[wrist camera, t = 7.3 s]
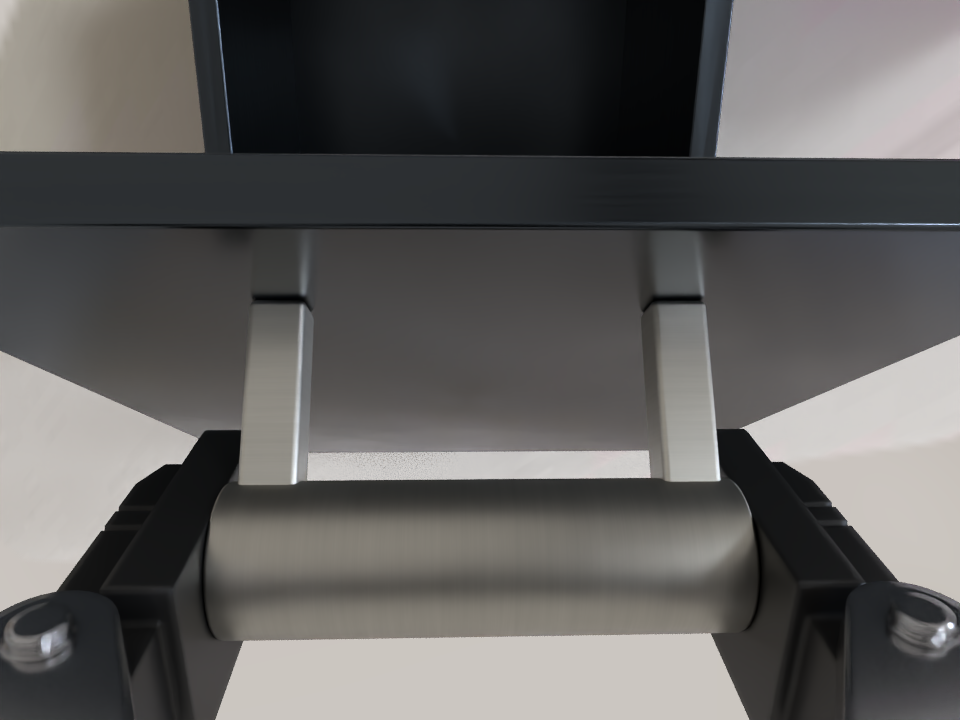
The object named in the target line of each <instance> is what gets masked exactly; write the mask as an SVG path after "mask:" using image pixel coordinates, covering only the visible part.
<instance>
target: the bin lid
mask: <svg viewBox="0 0 960 720" xmlns="http://www.w3.org/2000/svg"><path fill="white" fill-rule="evenodd" d="M959 335H960V159H869V158H746V157H623V156H500V155H377V154H254V153H130V152H7V151H0V351H2V352H5V353H7V354H9V355H11V356H14V357H16V358H18V359H20V360H23V361H25V362H27V363H29V364H32V365H34V366H36V367H38V368H41V369H43V370H45V371H47V372H50V373H52V374H54V375H57V376H59V377H61V378H63V379H66V380H68V381H70V382H72V383H75V384H77V385H79V386H81V387H84V388H86V389H88V390H90V391H93V392H95V393H97V394H100V395H102V396H104V397H106V398H109V399H111V400H113V401H115V402H118V403H120V404H122V405H124V406H127V407H129V408H131V409H133V410H136V411H138V412H140V413H142V414H145V415H147V416H149V417H152V418H154V419H156V420H158V421H161V422H163V423H165V424H167V425H170V426H172V427H174V428H176V429H179V430H181V431H183V432H185V433H188V434H190V435H192V436H194V437H197V438H200V436H201V435H202V433H203V432H204V431H206V430H241V443H240V458H239V474H238V481H233V482H231V483H228V484H226V485H225V486H224V487H223V488H222V490H221V491H220V493H219V495H218V497H217V499H216V502H215V504H214V507H213V510H212V514H211V517H210V521H209V525H208V530H207V535H206V542H205V549H204V560H203V597H204V606H205V613H206V618H207V622H208V625H209V628H210V630H211V632H212V634H213V636H214V637H215V638H217V639H219V640H221V641H248V640H309V639H311V640H312V639H375V638H439V637H499V636H500V637H502V636H565V635H623V634H624V635H630V634H689V633H690V634H691V633H738V632H741V631H743V630H745V629H746V628H748V626H749V625H750V624H751V622H752V620H753V617H754V615H755V612H756V608H757V603H758V597H759V588H760V560H759V549H758V541H757V536H756V530H755V526H754V522H753V518H752V515H751V511H750V509H749V506H748V503H747V501H746V499H745V497H744V495H743V493H742V491H741V490H740V488H739V487H738V486H737V485H736V484H735V483H734V482H733V481H732V480H730V479H727V478H720V467H719V455H718V443H717V432H716V429H739V428H742V427H744V426H746V425H749V424H751V423H754V422H756V421H758V420H761V419H763V418H765V417H768V416H770V415H772V414H775V413H777V412H780V411H782V410H784V409H787V408H789V407H791V406H794V405H796V404H798V403H801V402H803V401H806V400H808V399H810V398H813V397H815V396H817V395H820V394H822V393H824V392H827V391H829V390H832V389H834V388H836V387H839V386H841V385H843V384H846V383H848V382H850V381H853V380H855V379H858V378H860V377H862V376H865V375H867V374H869V373H872V372H874V371H877V370H879V369H881V368H884V367H886V366H888V365H891V364H893V363H895V362H898V361H900V360H903V359H905V358H907V357H910V356H912V355H914V354H917V353H919V352H921V351H924V350H926V349H929V348H931V347H933V346H936V345H938V344H940V343H943V342H945V341H947V340H950V339H952V338H955V337H957V336H959ZM631 450H649V458H650V473H651V478H600V479H474V480H349V481H307V467H308V453H327V452H479V451H631Z"/></svg>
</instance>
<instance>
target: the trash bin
mask: <svg viewBox="0 0 960 720" xmlns="http://www.w3.org/2000/svg"><path fill="white" fill-rule="evenodd" d="M733 1H734V0H188V3H189V12H190V21H191V30H192V39H193V48H194V57H195V66H196V75H197V85H198V94H199V103H200V112H201V121H202V130H203V139H204V148H205V153H254V154H377V155H500V156H623V157H716V150H717V141H718V132H719V124H720V115H721V106H722V98H723V89H724V80H725V71H726V63H727V54H728V45H729V36H730V28H731V19H732V10H733Z"/></svg>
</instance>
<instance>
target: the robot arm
mask: <svg viewBox="0 0 960 720" xmlns="http://www.w3.org/2000/svg"><path fill="white" fill-rule="evenodd" d="M716 432H717V443H718V455H719V467H720V478H727V479H730V480H732V481H733V482H734V483H735V484H736V485H737V486H738V487H739V488H740V490H741V491H742V493H743V495H744V497H745V499H746V501H747V503H748V506H749V509H750V511H751V515H752V518H753V522H754V526H755V530H756V536H757V541H758V549H759V560H760V588H759V597H758V603H757V608H756V612H755V615H754V617H753V620H752V622H751V624H750V625H749V626H748V628H746V629H745V630H743V631H741V632H738V633H711V635H712V637H713V639H714V641H715V644H716V646H717V648H718V650H719V652H720V655H721V657H722V659H723V662H724V664H725V666H726V668H727V670H728V673H729V675H730V677H731V679H732V681H733V683H734V686H735V688H736V691H737V693H738V695H739V697H740V699H741V702H742V704H743V706H744V708H745V711H746V713H747V715H748V717H749V720H960V603H959V602H957V601H955V600H953V599H951V598H949V597H947V596H945V595H943V594H941V593H938V592H935V591H933V590H930V589H927V588H924V587H921V586H917V585H913V584H907V583H902V582H899V581H898V580H897V579H896V578H895V577H894V575H893V574H892V573H891V572H890V571H889V569H887V567H886V566H885V565H884V564H883V562H882V561H881V560H880V559H879V558H878V557H877V555H876V554H875V553H874V552H873V551H872V550H871V549H870V547H869V546H868V545H867V544H866V543H865V541H864V540H863V539H862V538H861V537H860V535H859V534H858V533H857V532H856V531H855V530H854V528H853V527H852V526H848V525H847V520H846V519H845V518H844V517H843V515H842V514H841V513H840V512H839V511H838V510H837V509H836V507H832V503H831V501H830V500H829V499H828V498H827V497H826V495H825V494H823V492H822V491H821V490H820V488H819V487H818V486H817V485H816V484H815V483H814V482H813V480H811V479H809V478H808V477H806V476H804V475H803V474H801V473H799V472H798V471H796V470H795V469H793V468H791V467H790V466H788V465H787V464H785V463H783V462H771V461H770V460H769V458H768V457H767V456H766V455H765V453H764V452H763V451H762V450H761V448H760V447H759V446H758V445H757V443H756V442H755V441H754V439H753V438H752V437H751V436H750V434H749V433H748V432H747V431H746V430H744V429H716ZM240 443H241V430H206V431H204V432H203V433H202V435H201V436H200V438H199V439H198V441H197V442H196V444H195V445H194V447H193V448H192V450H191V451H190V453H189V455H188V456H187V458H186V459H185V461H184V462H183V464H165V465H164V466H162V467H161V468H159V469H158V470H156V471H155V472H153V473H152V474H150V475H149V476H147V477H146V478H144V479H143V480H141V481H140V482H138V483H137V484H136V485H135V486H134V487H133V489H132V490H131V491H130V493H129V494H128V495H127V497H126V498H125V499H124V501H123V502H122V503H121V505H120V506H119V511H116V512H115V513H114V514H113V516H112V517H111V518H110V520H109V521H108V522H107V524H106V525H105V531H101V532H100V533H99V535H98V536H97V537H96V539H95V540H94V541H93V543H92V544H91V545H90V547H89V548H88V550H87V551H86V552H85V554H84V555H83V556H82V558H81V559H80V560H79V562H78V563H77V564H76V566H75V567H74V569H73V570H72V571H71V573H70V574H69V575H68V577H67V578H66V579H65V581H64V582H63V584H62V585H61V586H60V587H59V589H58V590H57V592H53V593H49V594H44V595H40V596H37V597H34V598H30V599H27V600H25V601H22V602H20V603H17V604H15V605H13V606H11V607H9V608H7V609H5V610H3V611H1V612H0V720H215V719H216V716H217V713H218V710H219V707H220V704H221V701H222V699H223V696H224V693H225V690H226V687H227V685H228V682H229V679H230V676H231V674H232V671H233V667H234V665H235V662H236V659H237V657H238V654H239V651H240V648H241V646H242V643H243V641H221V640H219V639H217V638H215V637H214V636H213V634H212V632H211V630H210V628H209V625H208V622H207V618H206V613H205V606H204V597H203V560H204V549H205V542H206V535H207V530H208V525H209V521H210V517H211V514H212V510H213V507H214V504H215V502H216V499H217V497H218V495H219V493H220V491H221V490H222V488H223V487H224V486H225V485H226V484H228V483H231V482H233V481H238V474H239V458H240Z"/></svg>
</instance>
